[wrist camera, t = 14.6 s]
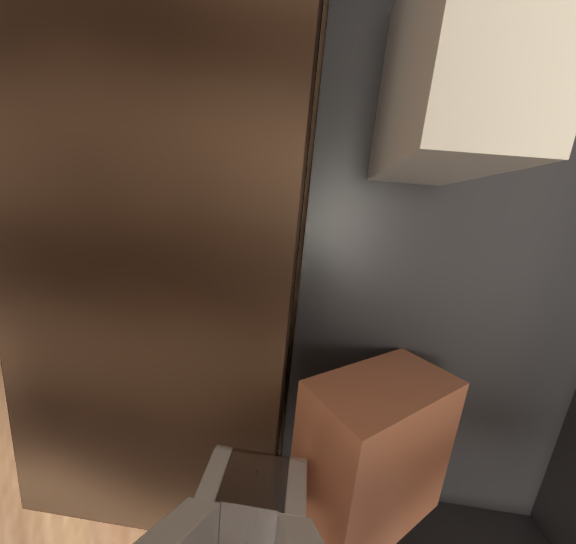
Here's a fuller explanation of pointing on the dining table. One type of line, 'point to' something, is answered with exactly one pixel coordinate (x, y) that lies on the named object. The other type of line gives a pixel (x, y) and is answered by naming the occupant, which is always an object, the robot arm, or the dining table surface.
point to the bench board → (147, 240)
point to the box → (446, 300)
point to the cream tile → (474, 89)
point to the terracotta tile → (376, 445)
